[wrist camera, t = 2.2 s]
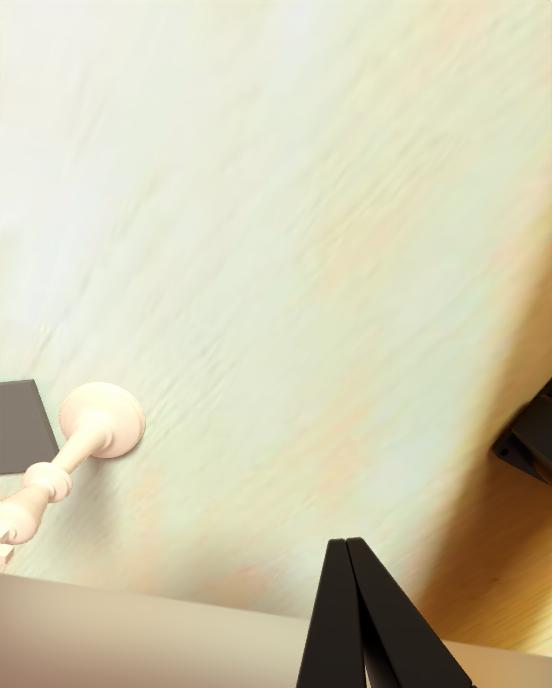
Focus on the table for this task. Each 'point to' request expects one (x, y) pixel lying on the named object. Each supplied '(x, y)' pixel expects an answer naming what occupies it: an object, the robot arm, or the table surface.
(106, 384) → the chess piece
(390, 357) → the table surface
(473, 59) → the table surface
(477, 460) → the table surface
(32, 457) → the slate mat
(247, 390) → the table surface
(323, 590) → the robot arm
